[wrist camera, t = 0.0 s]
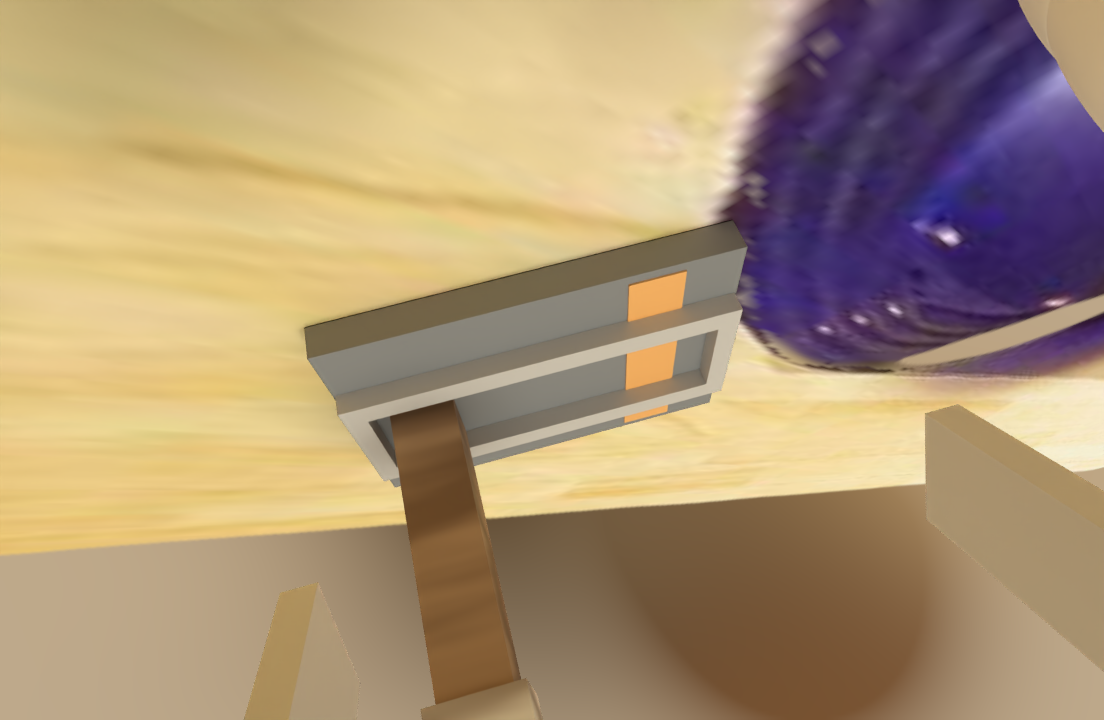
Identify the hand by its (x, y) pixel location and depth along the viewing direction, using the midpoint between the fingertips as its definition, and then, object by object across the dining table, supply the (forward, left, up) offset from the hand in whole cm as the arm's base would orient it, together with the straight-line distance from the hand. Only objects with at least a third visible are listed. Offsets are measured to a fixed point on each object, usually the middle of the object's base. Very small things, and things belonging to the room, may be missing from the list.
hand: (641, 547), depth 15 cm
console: (+16, 0, -15) cm, 22 cm away
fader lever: (+16, -6, -13) cm, 22 cm away
